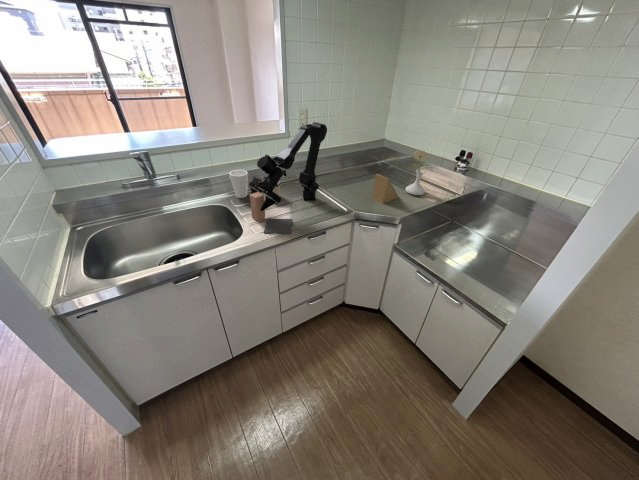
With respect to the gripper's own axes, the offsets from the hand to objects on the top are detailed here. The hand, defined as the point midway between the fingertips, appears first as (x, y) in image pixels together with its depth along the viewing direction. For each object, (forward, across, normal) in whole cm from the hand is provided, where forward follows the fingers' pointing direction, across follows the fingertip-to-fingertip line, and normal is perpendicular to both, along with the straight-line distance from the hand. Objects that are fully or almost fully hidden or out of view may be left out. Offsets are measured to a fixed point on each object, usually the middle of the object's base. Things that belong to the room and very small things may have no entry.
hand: (255, 207), depth 122 cm
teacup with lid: (-9, -15, +18) cm, 25 cm away
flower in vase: (-59, +35, +68) cm, 97 cm away
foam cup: (-1, -27, +11) cm, 29 cm away
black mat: (+2, +12, +8) cm, 14 cm away
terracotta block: (+4, 0, +6) cm, 7 cm away
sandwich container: (-45, +28, +55) cm, 76 cm away
